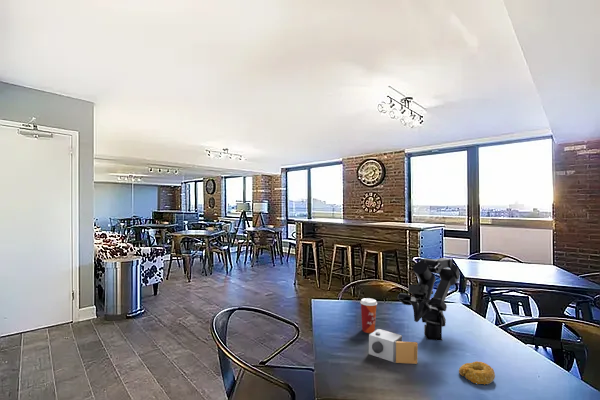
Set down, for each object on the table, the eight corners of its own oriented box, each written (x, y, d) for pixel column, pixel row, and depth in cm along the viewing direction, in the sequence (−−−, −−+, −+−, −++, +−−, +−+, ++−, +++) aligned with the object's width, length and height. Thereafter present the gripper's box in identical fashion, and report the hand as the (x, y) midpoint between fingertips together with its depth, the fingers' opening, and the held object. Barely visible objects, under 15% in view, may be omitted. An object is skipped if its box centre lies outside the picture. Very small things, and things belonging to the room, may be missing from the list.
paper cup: (372, 335, 149) (372, 303, 149) (356, 331, 153) (357, 300, 153) (379, 330, 155) (380, 299, 155) (364, 326, 160) (365, 296, 159)
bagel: (462, 367, 122) (462, 354, 121) (497, 377, 115) (497, 364, 114) (455, 378, 114) (455, 364, 114) (491, 391, 107) (492, 376, 107)
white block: (378, 347, 137) (378, 327, 137) (401, 354, 130) (402, 334, 130) (367, 355, 129) (367, 334, 129) (391, 363, 123) (392, 341, 123)
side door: (416, 362, 124) (416, 341, 124) (417, 364, 123) (417, 343, 123) (393, 361, 124) (393, 340, 124) (394, 363, 123) (394, 342, 123)
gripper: (396, 274, 143) (385, 308, 136) (439, 278, 129) (429, 316, 122) (408, 287, 148) (398, 320, 141) (450, 292, 134) (442, 329, 127)
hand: (415, 321), depth 133 cm, fingers closed
